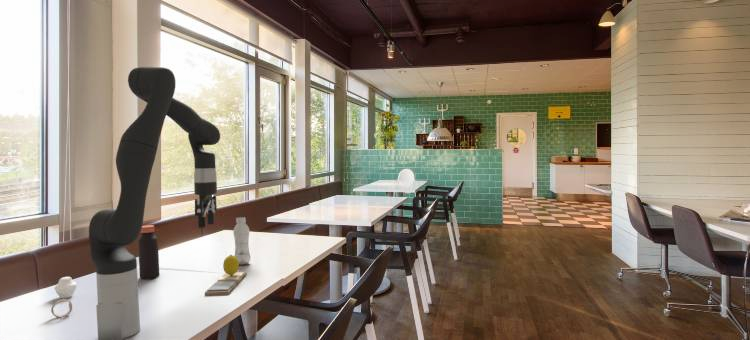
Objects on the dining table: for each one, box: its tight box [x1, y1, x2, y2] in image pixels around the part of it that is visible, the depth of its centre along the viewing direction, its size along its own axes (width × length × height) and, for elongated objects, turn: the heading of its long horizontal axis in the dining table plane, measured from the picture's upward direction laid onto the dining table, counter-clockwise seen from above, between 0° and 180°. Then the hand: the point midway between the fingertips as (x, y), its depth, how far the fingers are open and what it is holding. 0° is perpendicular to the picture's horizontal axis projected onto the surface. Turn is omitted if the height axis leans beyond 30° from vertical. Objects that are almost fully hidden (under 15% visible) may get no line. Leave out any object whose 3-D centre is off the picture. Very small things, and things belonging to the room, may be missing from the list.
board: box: [204, 271, 247, 296], centre depth 151 cm, size 22×8×2 cm, turn 2°
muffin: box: [54, 276, 78, 299], centre depth 142 cm, size 6×6×7 cm
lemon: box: [222, 254, 240, 276], centre depth 156 cm, size 6×6×8 cm
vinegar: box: [137, 224, 160, 280], centre depth 162 cm, size 7×7×20 cm
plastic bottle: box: [232, 216, 251, 266], centre depth 177 cm, size 6×7×20 cm
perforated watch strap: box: [50, 298, 73, 318], centre depth 124 cm, size 3×5×5 cm, turn 138°
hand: (206, 225), depth 150 cm, fingers open, 8 cm apart
